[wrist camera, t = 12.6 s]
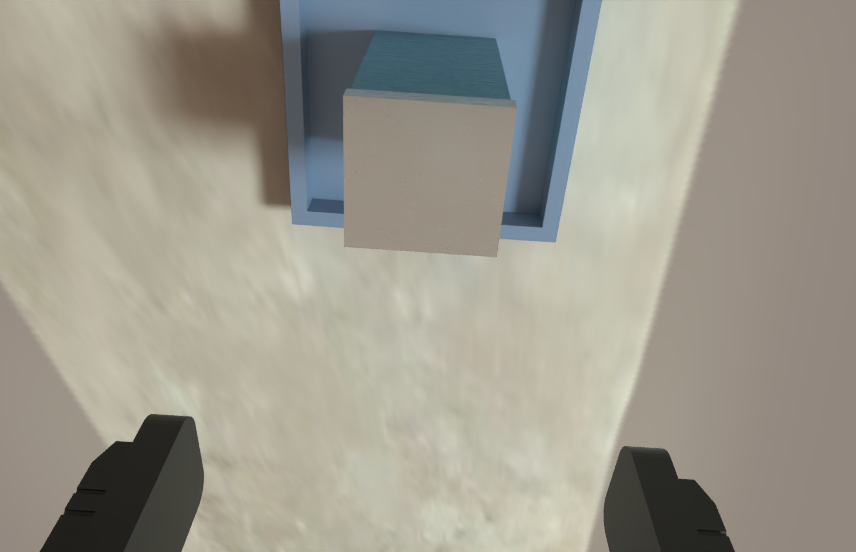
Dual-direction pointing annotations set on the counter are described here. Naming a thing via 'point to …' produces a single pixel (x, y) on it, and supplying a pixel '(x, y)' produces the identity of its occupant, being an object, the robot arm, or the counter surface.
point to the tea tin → (427, 145)
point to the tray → (445, 15)
